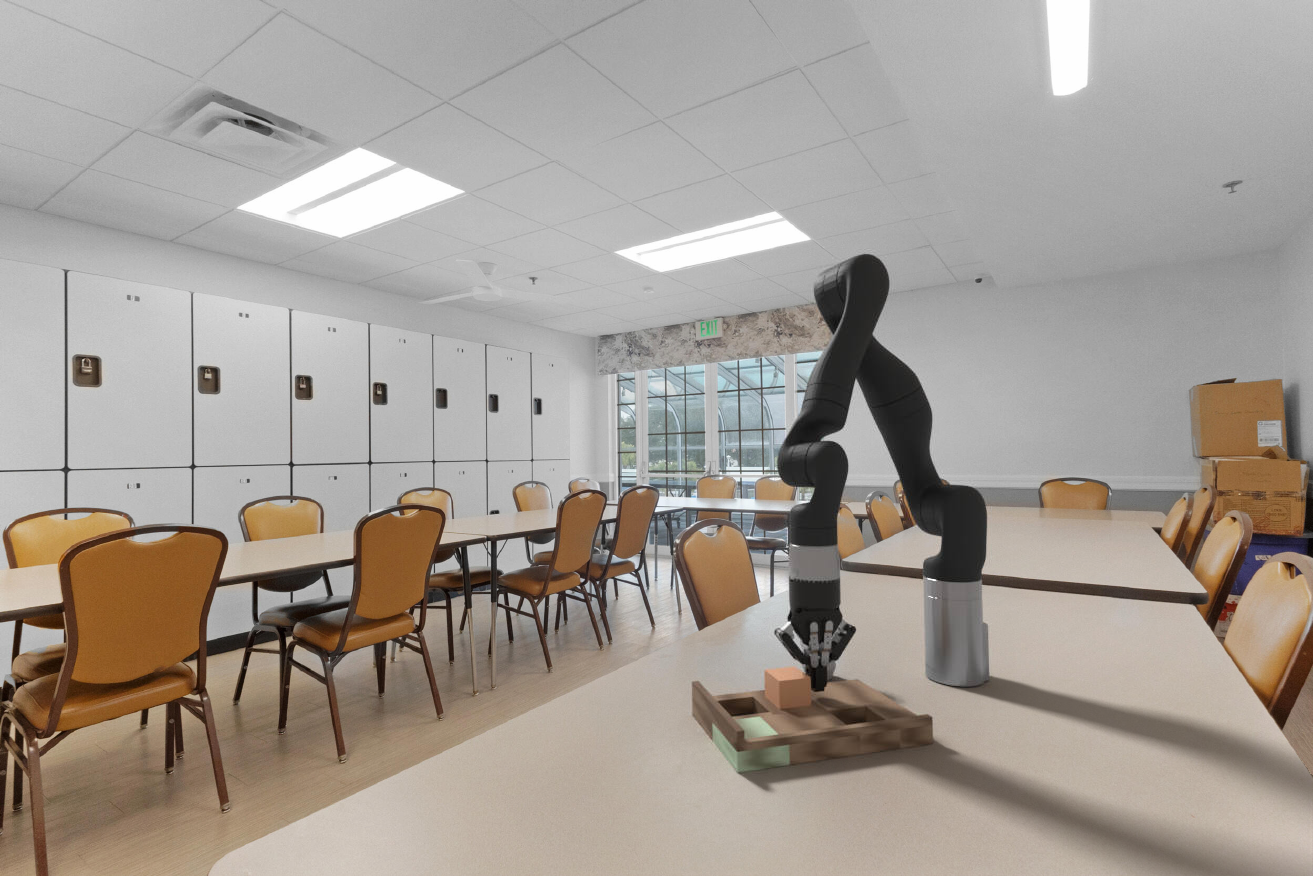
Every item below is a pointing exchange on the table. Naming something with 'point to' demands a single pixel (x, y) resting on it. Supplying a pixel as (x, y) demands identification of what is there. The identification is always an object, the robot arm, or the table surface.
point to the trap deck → (807, 725)
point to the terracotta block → (787, 687)
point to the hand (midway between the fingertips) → (816, 690)
